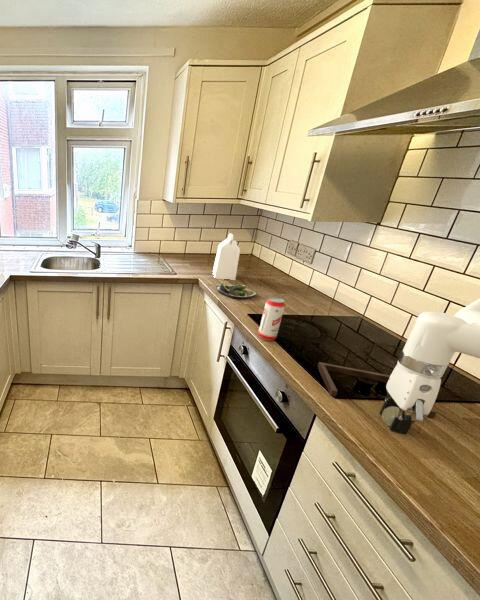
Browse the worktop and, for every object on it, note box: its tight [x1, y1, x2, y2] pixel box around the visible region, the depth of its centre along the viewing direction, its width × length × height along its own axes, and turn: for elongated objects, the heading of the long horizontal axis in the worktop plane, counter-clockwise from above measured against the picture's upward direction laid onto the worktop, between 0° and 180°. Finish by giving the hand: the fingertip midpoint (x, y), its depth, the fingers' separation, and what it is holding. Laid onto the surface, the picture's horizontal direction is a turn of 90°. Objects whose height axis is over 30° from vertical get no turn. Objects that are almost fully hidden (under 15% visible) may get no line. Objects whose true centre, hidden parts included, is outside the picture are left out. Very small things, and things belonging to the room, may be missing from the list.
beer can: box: [257, 296, 286, 342], centre depth 119 cm, size 6×6×16 cm
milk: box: [212, 233, 241, 281], centre depth 189 cm, size 12×12×26 cm
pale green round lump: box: [381, 406, 408, 427], centre depth 80 cm, size 4×5×5 cm
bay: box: [316, 361, 437, 419], centre depth 93 cm, size 22×16×2 cm
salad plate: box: [214, 283, 257, 300], centre depth 167 cm, size 19×18×5 cm
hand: (392, 423), depth 80 cm, fingers closed on pale green round lump, 5 cm apart
